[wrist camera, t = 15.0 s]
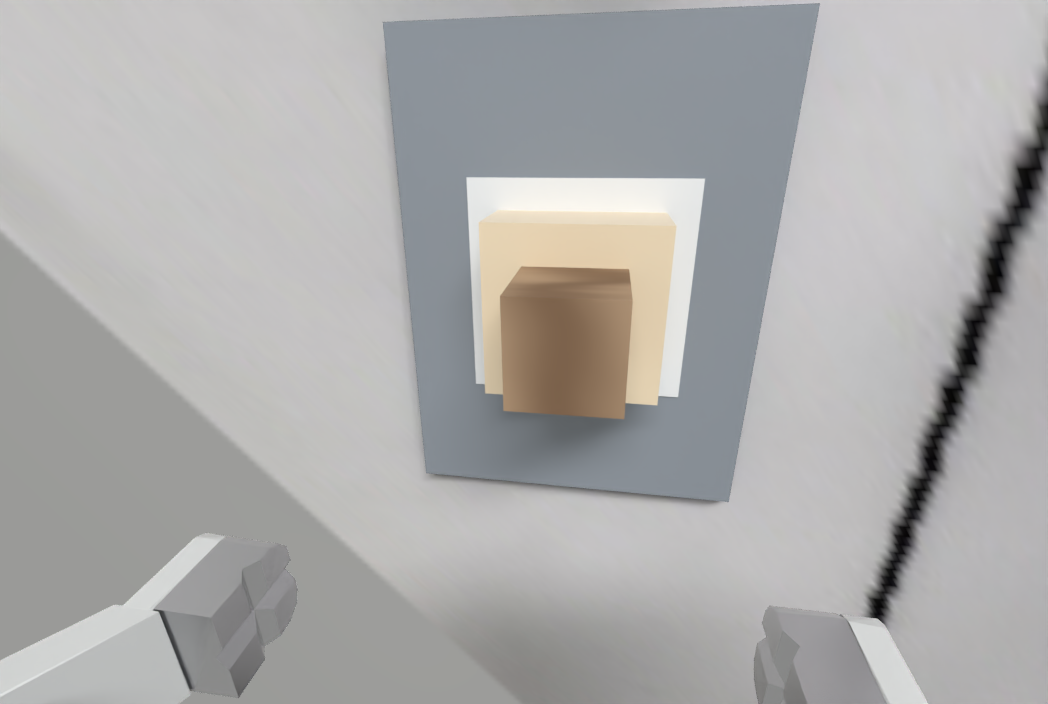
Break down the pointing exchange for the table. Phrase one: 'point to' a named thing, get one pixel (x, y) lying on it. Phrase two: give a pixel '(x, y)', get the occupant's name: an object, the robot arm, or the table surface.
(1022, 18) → the table surface
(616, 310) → the walnut cube
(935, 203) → the table surface
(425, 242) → the board
